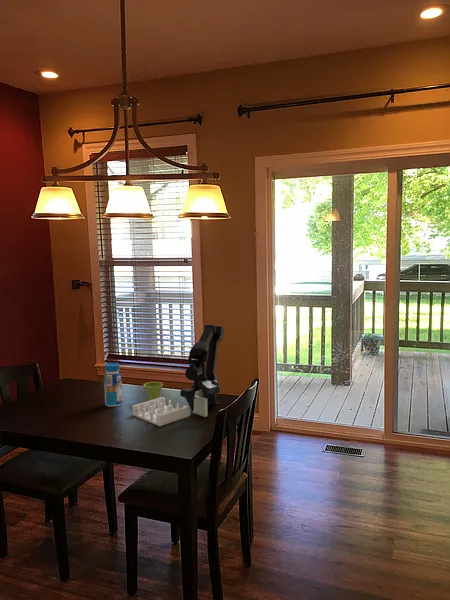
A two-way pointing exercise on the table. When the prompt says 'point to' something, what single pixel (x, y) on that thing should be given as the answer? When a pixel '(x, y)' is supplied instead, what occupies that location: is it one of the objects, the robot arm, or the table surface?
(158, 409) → the dish rack
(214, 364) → the robot arm
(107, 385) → the beverage bottle
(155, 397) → the plant pot
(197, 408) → the green square slab
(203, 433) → the table surface
